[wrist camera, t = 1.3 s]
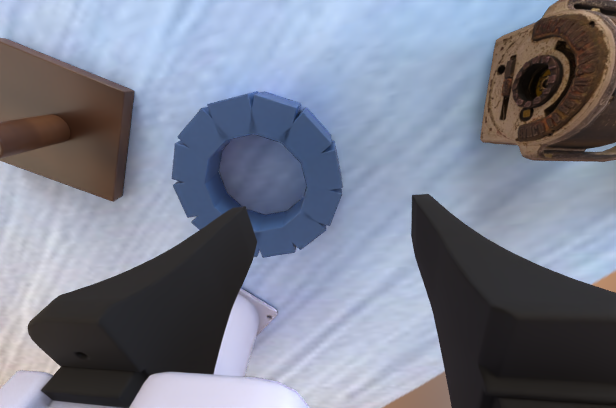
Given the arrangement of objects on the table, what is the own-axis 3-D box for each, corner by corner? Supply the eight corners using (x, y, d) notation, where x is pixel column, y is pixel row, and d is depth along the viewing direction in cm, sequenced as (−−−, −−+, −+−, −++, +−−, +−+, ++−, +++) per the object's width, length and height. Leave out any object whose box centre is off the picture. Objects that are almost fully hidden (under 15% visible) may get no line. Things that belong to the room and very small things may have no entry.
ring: (221, 247, 26) (209, 266, 23) (165, 115, 21) (142, 120, 18) (351, 225, 24) (353, 243, 21) (321, 74, 19) (320, 75, 17)
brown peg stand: (122, 196, 24) (63, 232, 19) (13, 156, 23) (-83, 181, 18) (135, 90, 20) (64, 97, 15) (5, 38, 20) (-119, 25, 14)
